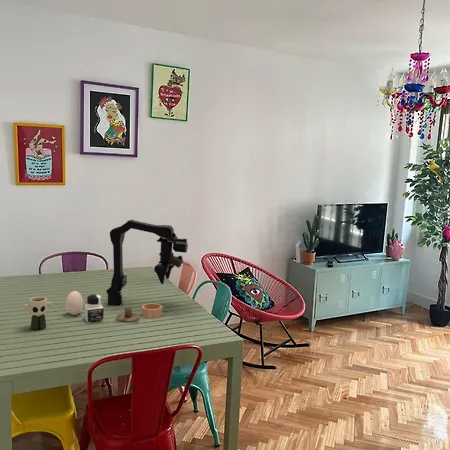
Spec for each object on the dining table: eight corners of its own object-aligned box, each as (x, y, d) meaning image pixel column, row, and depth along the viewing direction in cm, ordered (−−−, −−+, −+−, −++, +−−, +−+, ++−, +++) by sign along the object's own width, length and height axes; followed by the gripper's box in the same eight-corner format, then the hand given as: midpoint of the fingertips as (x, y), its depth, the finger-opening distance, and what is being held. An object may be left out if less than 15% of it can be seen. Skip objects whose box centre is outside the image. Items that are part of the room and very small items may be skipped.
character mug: (25, 332, 192) (25, 302, 190) (23, 326, 198) (23, 297, 196) (53, 328, 197) (52, 300, 195) (50, 323, 203) (50, 295, 201)
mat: (113, 323, 207) (113, 322, 207) (118, 315, 218) (118, 314, 218) (137, 324, 207) (137, 323, 207) (141, 316, 218) (141, 315, 218)
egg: (78, 310, 221) (78, 287, 220) (86, 315, 216) (86, 291, 214) (62, 314, 216) (62, 290, 214) (70, 318, 210) (70, 294, 208)
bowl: (140, 318, 215) (140, 309, 214) (143, 311, 224) (143, 302, 223) (160, 319, 215) (160, 310, 214) (162, 312, 224) (163, 303, 224)
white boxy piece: (87, 324, 204) (87, 298, 202) (84, 319, 210) (84, 294, 209) (103, 322, 208) (103, 297, 206) (100, 317, 214) (100, 292, 212)
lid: (114, 322, 207) (115, 311, 206) (119, 314, 217) (119, 304, 216) (137, 322, 207) (137, 312, 207) (140, 315, 217) (140, 305, 217)
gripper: (177, 256, 216) (175, 288, 218) (186, 248, 234) (185, 278, 236) (154, 254, 217) (153, 285, 220) (165, 246, 236) (164, 276, 238)
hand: (164, 281), depth 228 cm, fingers open, 9 cm apart
